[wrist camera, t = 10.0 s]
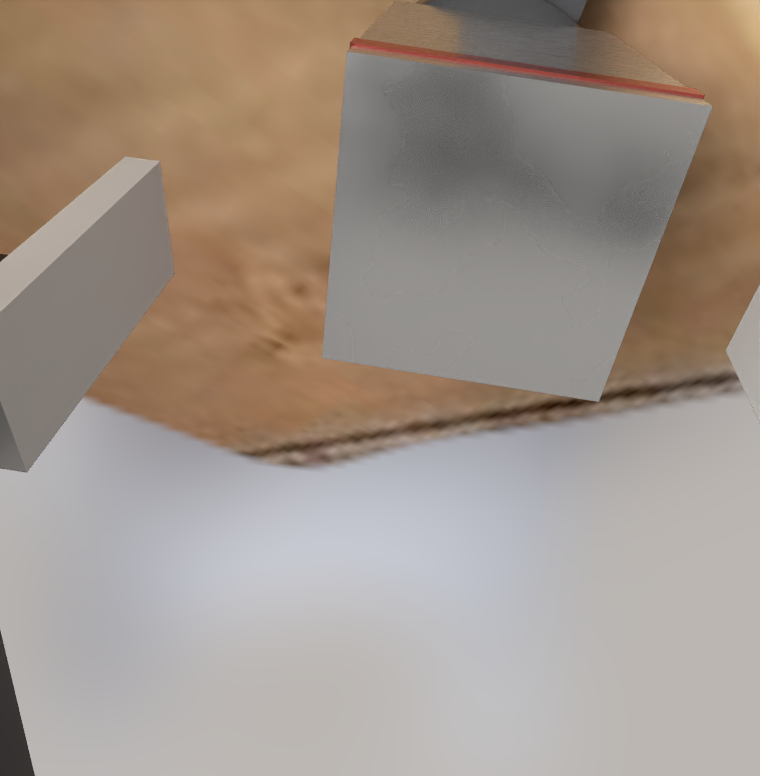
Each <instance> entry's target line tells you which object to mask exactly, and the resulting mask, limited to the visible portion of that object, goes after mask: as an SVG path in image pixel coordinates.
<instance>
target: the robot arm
mask: <svg viewBox="0 0 760 776" xmlns="http://www.w3.org/2000/svg"><path fill="white" fill-rule="evenodd" d="M174 274H175V273H174V265H173V257H172V250H171V242H170V234H169V227H168V219H167V211H166V204H165V196H164V188H163V181H162V173H161V165H160V161H155V160H147V159H140V158H132V157H124V158H123V159H122V160H121V161H120V162H118V163H117V164H116V165H115V166H114V167H112V168H111V169H110V170H109V171H108V172H106V173H105V174H104V175H103V176H102V177H101V178H99V179H98V180H97V181H96V182H95V183H93V184H92V185H91V186H90V187H89V188H87V189H86V190H85V191H84V192H83V193H82V194H80V195H79V196H78V197H77V198H76V199H74V200H73V201H72V202H71V203H70V204H68V205H67V206H66V207H65V208H64V209H63V210H61V211H60V212H59V213H58V214H57V215H55V216H54V217H53V218H52V219H51V220H49V221H48V222H47V223H46V224H45V225H44V226H42V227H41V228H40V229H39V230H38V231H36V232H35V233H34V234H33V235H32V236H30V237H29V238H28V239H27V240H26V241H25V242H23V243H22V244H21V245H20V246H19V247H17V248H16V249H15V250H14V251H13V252H11V253H10V254H9V255H4V254H0V468H2V469H9V470H15V471H21V472H28V470H29V469H30V468H31V466H32V465H33V463H34V462H35V461H36V460H37V458H38V457H39V455H40V454H41V453H42V451H43V450H44V449H45V447H46V446H47V445H48V443H49V442H50V441H51V439H52V438H53V437H54V435H55V434H56V433H57V431H58V430H59V429H60V427H61V426H62V425H63V423H64V422H65V421H66V419H67V418H68V417H69V415H70V414H71V412H72V411H73V410H74V408H75V407H76V406H77V404H78V403H79V402H80V400H81V399H82V398H83V396H84V395H85V394H86V392H87V391H88V390H89V388H90V387H91V386H92V384H93V383H94V382H95V380H96V379H97V377H98V376H99V375H100V373H101V372H102V371H103V369H104V368H105V367H106V365H107V364H108V363H109V361H110V360H111V359H112V357H113V356H114V355H115V353H116V352H117V351H118V349H119V348H120V347H121V345H122V344H123V343H124V341H125V340H126V338H127V337H128V336H129V334H130V333H131V332H132V330H133V329H134V328H135V326H136V325H137V324H138V322H139V321H140V320H141V318H142V317H143V316H144V314H145V313H146V312H147V310H148V309H149V308H150V306H151V305H152V303H153V302H154V301H155V299H156V298H157V297H158V295H159V294H160V293H161V291H162V290H163V289H164V287H165V286H166V285H167V283H168V282H169V281H170V279H171V278H172V277H173V275H174ZM726 353H727V355H728V357H729V359H730V361H731V363H732V365H733V367H734V370H735V372H736V374H737V376H738V378H739V380H740V382H741V384H742V386H743V389H744V391H745V393H746V395H747V397H748V399H749V401H750V403H751V406H752V408H753V410H754V412H755V414H756V416H757V418H758V420H759V423H760V285H759V287H758V289H757V291H756V292H755V294H754V296H753V298H752V300H751V302H750V304H749V306H748V308H747V310H746V312H745V314H744V316H743V318H742V320H741V322H740V324H739V326H738V328H737V329H736V331H735V333H734V335H733V337H732V339H731V341H730V343H729V345H728V347H727V349H726ZM0 776H35V775H34V771H33V767H32V763H31V758H30V754H29V750H28V745H27V741H26V737H25V733H24V729H23V724H22V720H21V716H20V712H19V707H18V703H17V699H16V695H15V691H14V686H13V682H12V678H11V674H10V669H9V665H8V661H7V657H6V653H5V648H4V644H3V640H2V636H1V632H0Z"/></svg>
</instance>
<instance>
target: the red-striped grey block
mask: <svg viewBox="0 0 760 776" xmlns="http://www.w3.org/2000/svg"><path fill="white" fill-rule="evenodd" d="M704 96H705V95H704V94H702V93H701V92H699V91H698V90H696V89H694V88H687V87H685V86H684V85H682V84H681V83H680V82H678V81H677V80H675V79H674V78H673V77H671V76H670V75H668V74H667V73H666V72H664V71H663V70H661V69H660V68H659V67H657V66H656V65H654V64H653V63H652V62H650V61H649V60H647V59H646V58H645V57H643V56H642V55H641V54H639V53H638V52H636V51H635V50H634V49H632V48H631V47H629V46H628V45H627V44H625V43H624V42H622V41H621V40H620V39H618V38H617V37H615V36H614V35H613V34H611V33H610V32H605V31H598V30H592V29H585V28H578V27H571V26H565V25H558V24H551V23H544V22H538V21H531V20H524V19H518V18H511V17H504V16H497V15H491V14H484V13H477V12H470V11H464V10H457V9H450V8H443V7H437V6H430V5H423V4H416V3H410V2H403V1H396V0H395V2H394V3H393V4H392V5H391V6H390V7H389V8H388V9H387V10H386V11H385V12H384V13H383V14H382V15H381V16H380V17H379V18H378V19H377V21H376V22H375V23H374V24H373V25H372V26H371V27H370V28H369V29H368V30H367V31H366V32H365V33H364V34H363V35H362V36H361V37H360V38H354V39H353V40H352V41H351V42H350V49H349V50H348V51H347V59H346V71H345V84H344V96H343V108H342V120H341V133H340V145H339V157H338V169H337V182H336V194H335V206H334V218H333V230H332V243H331V255H330V267H329V279H328V292H327V304H326V316H325V328H324V341H323V353H322V358H325V359H331V360H338V361H344V362H350V363H357V364H363V365H369V366H376V367H382V368H388V369H395V370H401V371H407V372H414V373H420V374H426V375H433V376H439V377H445V378H452V379H458V380H464V381H471V382H477V383H483V384H490V385H496V386H502V387H509V388H515V389H521V390H528V391H534V392H540V393H547V394H553V395H559V396H566V397H572V398H578V399H585V400H591V401H597V402H599V400H600V397H601V394H602V392H603V389H604V387H605V384H606V381H607V379H608V376H609V374H610V371H611V369H612V366H613V363H614V361H615V358H616V356H617V353H618V350H619V348H620V345H621V343H622V340H623V337H624V335H625V332H626V330H627V327H628V324H629V322H630V319H631V317H632V314H633V312H634V309H635V306H636V304H637V301H638V299H639V296H640V293H641V291H642V288H643V286H644V283H645V280H646V278H647V275H648V273H649V270H650V267H651V265H652V262H653V260H654V257H655V254H656V252H657V249H658V247H659V244H660V242H661V239H662V236H663V234H664V231H665V229H666V226H667V223H668V221H669V218H670V216H671V213H672V210H673V208H674V205H675V203H676V200H677V197H678V195H679V192H680V190H681V187H682V184H683V182H684V179H685V177H686V174H687V172H688V169H689V166H690V164H691V161H692V159H693V156H694V153H695V151H696V148H697V146H698V143H699V140H700V138H701V135H702V133H703V130H704V127H705V125H706V122H707V120H708V117H709V114H710V112H711V109H712V107H713V106H712V105H710V104H709V103H707V102H706V101H705V100H703V99H704Z"/></svg>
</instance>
